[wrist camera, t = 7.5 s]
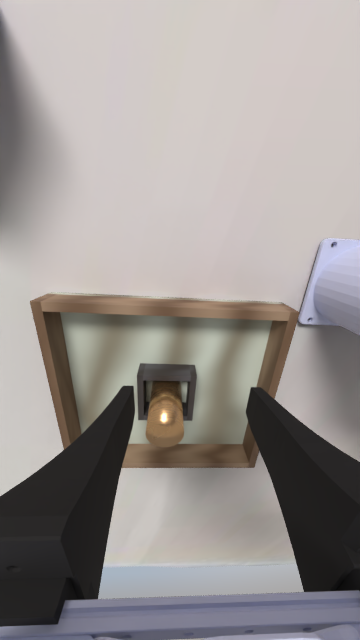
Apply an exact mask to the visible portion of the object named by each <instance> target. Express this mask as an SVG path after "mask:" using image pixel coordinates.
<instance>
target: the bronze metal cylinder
mask: <svg viewBox="0 0 360 640" xmlns="http://www.w3.org/2000/svg"><path fill="white" fill-rule="evenodd" d="M145 435H146V438H147V440H148V441H149V442H150V443H151V444H153V445H155V446H158V447H171V446H174V445H176V444H178V443H179V442H180V441H181V440H182V439H183V437H184V424H183V408H182V392H181V382H180V381H153V383H152V390H151V397H150V404H149V411H148V418H147V426H146V433H145Z"/></svg>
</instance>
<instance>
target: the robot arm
mask: <svg viewBox="0 0 360 640" xmlns="http://www.w3.org/2000/svg"><path fill="white" fill-rule="evenodd" d="M332 243H334V245H333V247H331V244H332ZM308 318H310V320H309V321H308ZM298 321H299V322H300V323H301V324H311V325H337V326H341V327H343V328H345V329H347V330H349V331H351V332H353V333H355V334H357V335H359V336H360V240H349V239H333V238H327V239H324V240H323V241H322V242H321V244H320V247H319V250H318V253H317V257H316V260H315V264H314V267H313V270H312V274H311V277H310V281H309V284H308V287H307V291H306V294H305V298H304V301H303V304H302V308H301V311H300V315H299V318H298ZM134 416H135V400H134V386H123V387H122V388H121V389H120V390H119V392H118V393H117V394H116V396H115V397H114V398H113V400H112V401H111V402H110V403H109V405H108V406H107V407H106V408H105V409H104V411H103V412H102V413H101V414H100V415H99V416H98V417H97V419H96V420H95V421H94V422H93V423H92V424H91V425H90V426H89V427H88V428H87V429H86V430H85V431H84V432H83V433H82V434H81V435H80V436H79V437H78V438H77V439H76V440H75V441H74V442H73V443H71V444H70V445H69V446H68V447H67V448H66V449H65V450H63V451H62V452H61V453H60V454H59V455H57V456H56V457H55V458H54V459H53V460H51V461H50V462H49V463H47V464H46V465H45V466H43V467H42V468H41V469H39V470H38V471H37V472H36V473H34V474H33V475H31V476H30V477H29V478H27V479H26V480H24V481H23V482H21V483H20V484H18V485H17V486H15V487H14V488H12V489H11V490H9V491H8V492H6V493H5V494H3V495H2V496H0V640H168V639H169V640H170V639H190V638H191V639H193V638H206V639H203V640H360V462H359V461H357V460H355V459H354V458H352V457H350V456H349V455H347V454H346V453H344V452H342V451H341V450H339V449H338V448H336V447H335V446H333V445H332V444H330V443H329V442H327V441H326V440H324V439H323V438H321V437H320V436H319V435H317V434H316V433H314V432H313V431H312V430H310V429H309V428H308V427H306V426H305V425H304V424H303V423H301V422H300V421H299V420H298V419H296V418H295V417H294V416H293V415H292V414H290V413H289V412H288V411H287V410H286V409H285V408H284V407H282V406H281V405H280V404H279V403H278V402H277V401H276V400H275V399H273V398H272V397H271V396H270V395H269V394H268V393H267V392H266V391H265V390H263V389H262V388H261V387H251V389H250V394H249V398H248V403H247V408H246V416H247V419H248V423H249V426H250V429H251V432H252V434H253V436H254V439H255V441H256V443H257V446H258V448H259V450H260V453H261V455H262V457H263V460H264V462H265V464H266V467H267V469H268V472H269V474H270V477H271V480H272V483H273V486H274V489H275V492H276V495H277V498H278V501H279V504H280V507H281V510H282V514H283V517H284V520H285V523H286V527H287V530H288V534H289V537H290V541H291V544H292V548H293V551H294V555H295V559H296V563H297V566H298V570H299V574H300V578H301V582H302V585H303V589H304V592H296V593H267V594H241V595H240V594H238V595H209V596H180V597H179V596H178V597H149V598H120V599H98V593H99V588H100V581H101V575H102V569H103V563H104V557H105V551H106V545H107V539H108V534H109V528H110V522H111V517H112V511H113V506H114V500H115V495H116V490H117V485H118V480H119V476H120V471H121V468H122V464H123V461H124V457H125V453H126V450H127V446H128V443H129V439H130V435H131V432H132V428H133V422H134Z"/></svg>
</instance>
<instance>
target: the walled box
mask: <svg viewBox="0 0 360 640" xmlns="http://www.w3.org/2000/svg"><path fill="white" fill-rule="evenodd" d="M30 304H31V309H32V313H33V317H34V322H35V326H36V330H37V335H38V339H39V343H40V348H41V352H42V356H43V361H44V365H45V369H46V374H47V378H48V382H49V387H50V391H51V395H52V400H53V404H54V408H55V413H56V417H57V421H58V426H59V430H60V434H61V439H62V443H63V447H64V450H65V449H66V448H67V447H68V446H69V445H70V444H71V443H73V442H74V441H75V440H76V439H77V438H78V437H79V436H80V435H81V434H82V433H83V432H84V431H85V430H86V429H87V428H88V427H89V426H90V425H91V424H92V423H93V422H94V421H95V420H96V419H97V417H98V416H99V415H100V414H101V413H102V412H103V411H104V409H105V408H106V407H107V406H108V405H109V403H110V402H111V401H112V400H113V398H114V397H115V396H116V394H117V393H118V392H119V390H120V389H121V388H122V387H123V386H134V400H135V416H134V422H133V428H132V432H131V435H130V439H129V443H128V446H127V450H126V453H125V457H124V461H123V464H122V468H254V467H255V463H256V460H257V456H258V453H259V448H258V446H257V443H256V441H255V439H254V436H253V434H252V432H251V429H250V426H249V423H248V419H247V416H246V408H247V403H248V398H249V394H250V389H251V387H261V388H262V389H263V390H265V391H266V392H267V393H268V394H269V395H270V396H271V397H272V398H273V399H274V398H275V395H276V392H277V388H278V385H279V381H280V378H281V375H282V371H283V368H284V364H285V361H286V358H287V354H288V351H289V347H290V344H291V341H292V337H293V334H294V330H295V327H296V324H297V320H298V317H299V313H300V312H298V311H296V310H294V309H292V308H291V307H289V306H287V305H285V304H283V303H282V302H260V301H237V300H214V299H192V298H169V297H147V296H124V295H102V294H79V293H56V292H51V293H49V294H46V295H44V296H41V297H39V298H37V299H34V300H32V301H30ZM153 381H180V382H181V392H182V408H183V424H184V437H183V439H182V440H181V441H180V442H179V443H178V444H176V445H174V446H171V447H158V446H155V445H153V444H151V443H150V442H149V441H148V440H147V438H146V435H145V433H146V426H147V418H148V411H149V404H150V397H151V390H152V383H153Z"/></svg>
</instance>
